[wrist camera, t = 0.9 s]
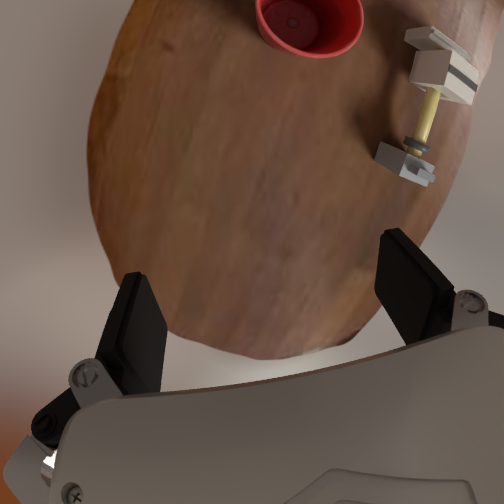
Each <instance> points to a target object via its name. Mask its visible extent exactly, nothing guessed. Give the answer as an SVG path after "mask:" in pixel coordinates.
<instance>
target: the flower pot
mask: <svg viewBox="0 0 504 504" xmlns="http://www.w3.org/2000/svg"><path fill="white" fill-rule="evenodd" d="M255 11H256V20H257V25H258V28H259V31H260V34H261V36H262V37H263V39H264V40H265V41H266V42H267V43H268V44H269V45H270V46H272V47H274V48H275V49H277V50H280V51H283V52H286V53H289V54H293V55H298V56H302V57H309V58H329V57H333V56H337V55H340V54H342V53H344V52H345V51H347V50H348V49H350V48H351V47H352V46H353V45H354V44H355V43H356V41H357V40H358V38H359V36H360V34H361V32H362V28H363V23H364V15H363V8H362V4H361V2H360V0H255Z"/></svg>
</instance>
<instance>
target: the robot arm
mask: <svg viewBox="0 0 504 504" xmlns="http://www.w3.org/2000/svg"><path fill="white" fill-rule="evenodd" d="M374 289H375V293H376V295H377V297H378V299H379V300H380V302H381V303H382V305H383V307H384V308H385V310H386V311H387V313H388V315H389V317H390V318H391V319H392V322H393V323H394V325H395V327H396V328H397V330H398V332H399V333H400V335H401V337H402V339H403V340H404V342H405V344H406V346H403V347H400V348H397V349H393V350H390V351H387V352H384V353H380V354H377V355H373V356H370V357H366V358H363V359H358V360H355V361H351V362H347V363H343V364H339V365H335V366H330V367H326V368H322V369H318V370H313V371H308V372H304V373H299V374H294V375H288V376H283V377H278V378H272V379H267V380H260V381H255V382H248V383H241V384H234V385H226V386H218V387H210V388H200V389H190V390H181V391H169V392H160V389H161V379H162V369H163V362H164V354H165V346H166V338H167V324H166V322H165V319H164V317H163V315H162V313H161V310H160V308H159V306H158V303H157V301H156V299H155V296H154V294H153V292H152V289H151V287H150V284H149V282H148V279H147V277H146V275H142V274H141V273H140V272H133V273H127V274H125V276H124V278H123V281H122V283H121V286H120V289H119V291H118V294H117V297H116V299H115V302H114V305H113V308H112V310H111V311H110V313H109V316H108V319H107V322H106V325H105V328H104V331H103V334H102V337H101V339H100V343H99V346H98V349H97V352H96V355H95V358H94V359H93V358H88V359H84V360H82V361H80V362H78V363H77V364H76V365H75V366H74V367H73V369H72V370H71V372H70V374H69V379H68V381H69V385H70V388H68V389H67V390H66V391H64V392H63V393H62V394H61V395H59V396H58V397H57V398H55V399H54V400H53V401H52V402H50V403H49V404H48V405H46V406H45V407H44V408H43V409H41V410H40V411H39V412H38V413H37V414H36V415H35V417H34V418H33V420H32V424H31V430H32V435H31V436H29V435H27V436H26V437H25V438H24V440H23V441H22V443H21V444H20V445H19V447H18V448H17V449H16V451H15V452H14V454H13V455H12V456H11V458H10V459H9V461H8V462H7V464H6V465H5V467H4V471H3V477H4V480H5V482H6V484H7V486H8V487H9V488H10V490H11V491H12V492H13V494H14V495H15V496H16V497H17V499H18V500H19V501H20V502H21V503H22V504H504V316H503V315H501V314H497V313H495V312H491V311H489V310H488V304H487V302H486V300H485V298H484V297H483V296H482V295H481V294H479V293H477V292H475V291H472V290H461V291H459V292H458V293H457V294H456V293H455V291H454V286H453V285H452V284H451V282H450V281H449V280H448V279H447V278H446V277H445V276H444V275H443V274H442V272H441V271H440V270H439V269H438V268H437V267H436V266H435V265H434V264H433V263H432V262H431V260H430V259H429V258H428V257H427V256H426V255H425V254H424V253H423V252H422V251H421V250H420V249H419V248H418V247H417V246H416V245H415V244H414V243H413V242H412V241H411V240H410V239H409V238H408V237H407V236H406V235H405V234H404V233H403V232H402V231H401V230H400V229H399V228H394V229H388V230H385V231H384V234H382V235H381V237H380V246H379V255H378V264H377V272H376V279H375V286H374Z"/></svg>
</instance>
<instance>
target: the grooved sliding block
mask: <svg viewBox="0 0 504 504" xmlns="http://www.w3.org/2000/svg"><path fill="white" fill-rule="evenodd" d="M478 76H479V71H477V70H476V69H475V68H474V67H473V66H472V65H470V64H469V63H468V62H467V61H466V60H464V59H463V58H462V57H461V56H459V55H458V54H457V53H455V52H454V51H453V50H430V51H416V54H415V58H414V62H413V65H412V69H411V73H410V77H409V80H408V82H409V83H411V84H413V85H415V86H416V87H418V88H420V89H421V90H423V91H425V92H426V89H427V86H428V87H433V88H435V89H436V90H438V91H439V92H441V95H440V98H439V99H443V100H448V101H453V102H458V103H462V104H466V105H470V106H471V105H472V101H473V98H474V94H475V92H476V90H477V86H478V85H477V81H478Z"/></svg>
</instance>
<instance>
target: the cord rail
mask: <svg viewBox="0 0 504 504" xmlns="http://www.w3.org/2000/svg"><path fill="white" fill-rule="evenodd" d="M404 41H406V42H407V43H409V44H411V45H412V46H414V47H416V48H417V49H419V50H420V51H430V50H453V51H454V52H455V53H457V54H458V55H459V56H461V57H462V58H463V59H464V60H469V61H470V58H471V57H470V56H469V55H467V52H466V51H465V50H463V49H462V48H461V47H460V46H458V45H457V44H456V43H455V42H453V41H452V40H451V39H449V38H448V37H447V36H445V35H444V34H443V33H441V32H440V31H438V30H437V29H436V28H434V27H433V26H425V27H419V28H413V29H407V30H406V33H405V37H404ZM440 95H441V92H439V91H438V90H436V89H435V88H433V87H428V86H427V89H426V92H425V96H424V99H423V103H422V106H421V109H420V113H419V116H418V119H417V122H416V125H415V128H414V131H413V134H412V137H411V138H409V137H406V136H405V139H404V142H403V143H404V144H406V145H408V149H407V152H404V151H402V150H400V149H398V148H395V147H393V146H391V145H388V144H386V143H384V142H381V141H380V144H379V147H378V150H377V153H376V156H375V158H374V161H376V162H377V163H379V164H381V165H383V166H384V167H386V168H388V169H389V170H391V171H393V172H394V173H396V174H398V175H399V176H402V177H404V178H407V179H409V180H412V181H414V182H416V183H419V184H421V185H423V186H426V187H427V185H428V182H429V181H430V182H432V183H434V180H435V177H436V176H435V175H434V174H432V172H433V169H434V167H435V166H433V165H431V164H429V163H427V162H425V161H423V160H421V159H420V157H421V155H422V152H423V153H425V154H427V155H428V153H429V150H430V147H428V146H426V145H425V143H426V140H427V137H428V134H429V131H430V128H431V125H432V122H433V118H434V115H435V112H436V109H437V105H438V102H439V98H440Z"/></svg>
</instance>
